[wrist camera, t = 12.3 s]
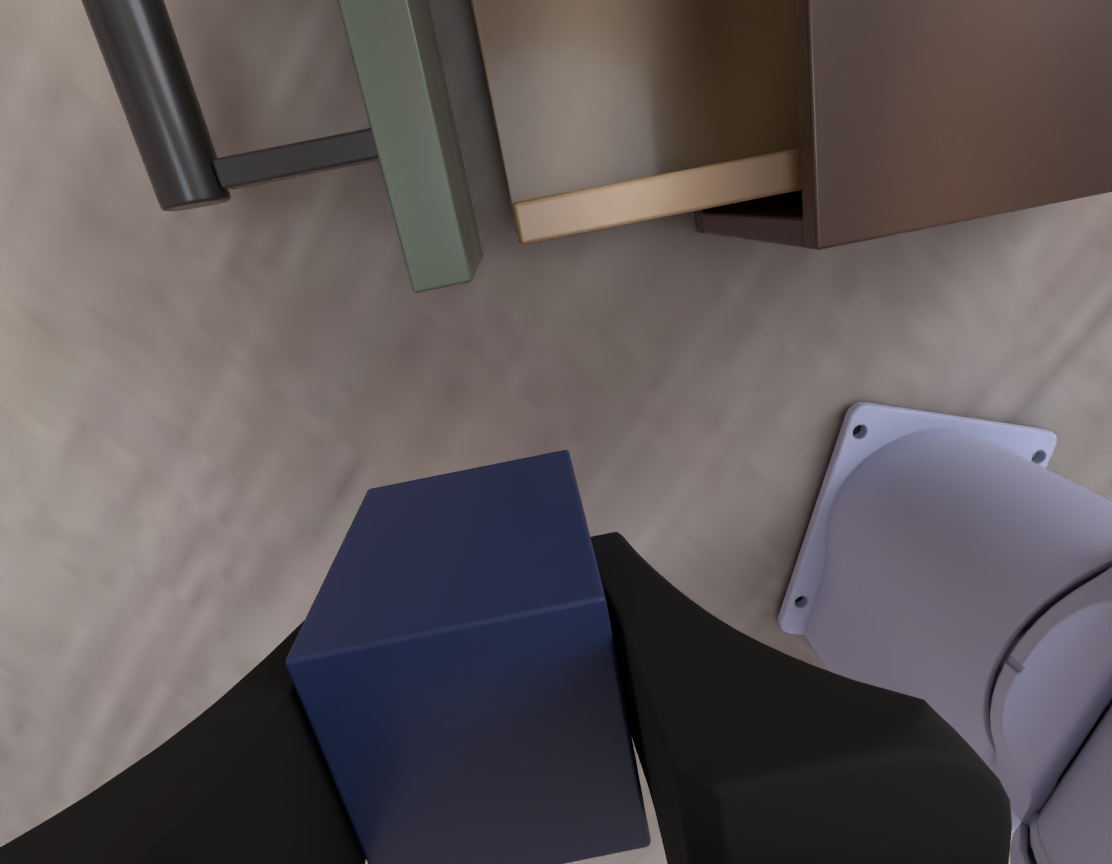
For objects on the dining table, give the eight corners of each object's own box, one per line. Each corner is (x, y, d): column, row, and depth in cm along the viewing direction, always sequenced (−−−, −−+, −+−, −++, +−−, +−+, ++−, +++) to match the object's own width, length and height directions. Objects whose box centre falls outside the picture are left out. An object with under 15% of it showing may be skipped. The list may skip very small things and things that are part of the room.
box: (568, 447, 12) (605, 597, 8) (603, 630, 14) (652, 848, 9) (367, 487, 12) (281, 662, 8) (424, 666, 14) (382, 902, 9)
